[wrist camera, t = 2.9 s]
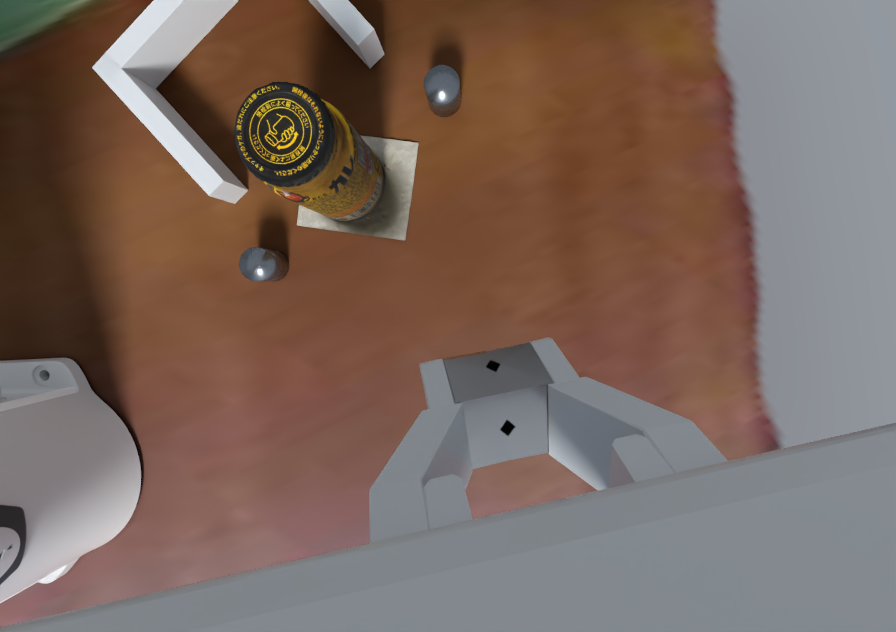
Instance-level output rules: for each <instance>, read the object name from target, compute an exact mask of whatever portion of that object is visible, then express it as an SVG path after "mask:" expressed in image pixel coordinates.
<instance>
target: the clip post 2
mask: <svg viewBox="0 0 896 632" xmlns="http://www.w3.org/2000/svg"><path fill="white" fill-rule="evenodd" d="M424 88H425V91H426V95H427V99H428V102H429V105H430V108H431V110H432V111H433V112H434V113H435V114H436V115H438V116H441V117H448V116H451V115H453V114H455V113H456V112H457V111H458V109H459V107H460V105H461V92H460V82H459V77H458V74H457V73H456V71H455V70H454V69H453V68H451V67H449V66H447V65H438V66H435V67H433V68H432V69H430V70H429V72H428V73H427V74H426V77H425V80H424Z"/></svg>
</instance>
